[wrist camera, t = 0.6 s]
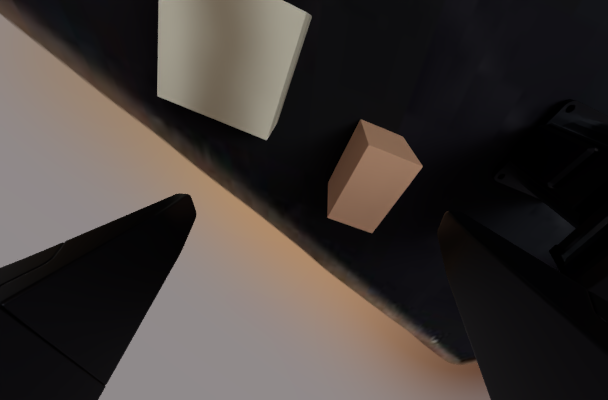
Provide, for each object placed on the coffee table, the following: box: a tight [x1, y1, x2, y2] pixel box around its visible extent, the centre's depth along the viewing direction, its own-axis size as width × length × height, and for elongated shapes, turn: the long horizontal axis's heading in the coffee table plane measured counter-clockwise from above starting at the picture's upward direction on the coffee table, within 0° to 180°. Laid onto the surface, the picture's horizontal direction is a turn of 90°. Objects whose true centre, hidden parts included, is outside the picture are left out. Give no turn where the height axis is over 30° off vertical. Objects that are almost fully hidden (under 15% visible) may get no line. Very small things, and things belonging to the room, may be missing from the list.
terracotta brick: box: [327, 119, 423, 233], centre depth 18 cm, size 4×6×5 cm, turn 160°
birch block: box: [157, 0, 312, 140], centre depth 15 cm, size 7×7×4 cm
